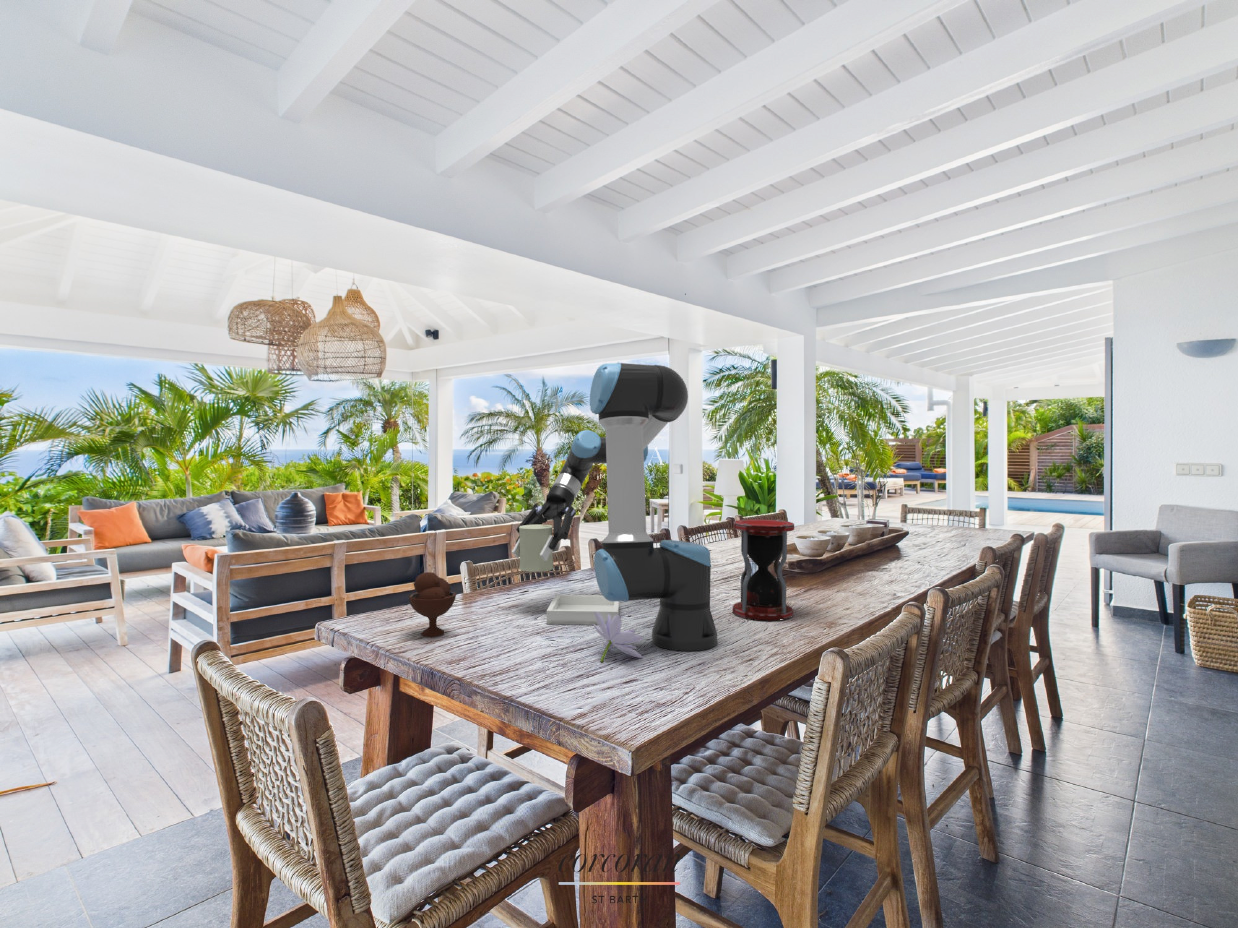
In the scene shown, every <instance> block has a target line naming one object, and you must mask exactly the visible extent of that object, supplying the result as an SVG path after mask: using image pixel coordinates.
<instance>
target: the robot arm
mask: <svg viewBox="0 0 1238 928" xmlns="http://www.w3.org/2000/svg"><path fill="white" fill-rule="evenodd" d="M688 400H689V394H688V388H687V384H686V383H685V381H684V379H683V377H681V375H680V374H679V373H678V372H677V371H675V370H674V369H672V368H671V367H668V366H665V365H661V364H660V365H657V364H654V365H653V364H639V363H638V364H637V363H623V362H617V363H603V364H601V365H599V367H598V368H597V369H596V371H595V373H594V375H593V378H592V381H591V387H590V393H589V407H590V408H589V409H590V412H591V413H592V414H594V415H597V416H598V424H599V425H600V426H601V427H602V428H603V429H604V430H605V437H603V436H602V437H601V436H599V434H598V433H597V432H595V431H592V430H588V429H585V430H581V431H579V432H578V433H577V434H576V435H575V437H574V438H573V441H572V443H571V446H570V450H569V453H568V455H567V457H566V460H565V463H564V465H563V466H562V468H561V470H560V472H559V474H558V475H557V477H556V479H555V481H554V483H553V484H552V486H551V487H550V490H549V491H548V493H547V495H546V499H545V502H544V503H543V504H542V505H538V504H537V503H535V504H534V505H533V506H532V507H531V510H530V512H528V514H527V515H526V516H525V517H524V519H523V520H522V521H521V522H520V524H519V525H518V526H517V527H516V529H515V530H516V532H517V533H518V535H519V527H520V526H523V525H543V524H545V523H546V522H548V521H553V525H552V526H553V529H552V535H550V536H549V538H548V540H547V542H546V544H545V546H544V548H543V549H542V551H541V553H540V556H541V557H542V559H543V560H544V561H547V559H548V557H549V555H550V553H551V551H552V552H553V551H554V550H555V549H556V548H557V545H558V544H559V542H560V541H561V540H564V541H566V540H567V539H568V536H569V534H570V531H571V525H572V524H573V520H574V517H575V516H576V514H577V512H576V510H575V508H574V507H573V506H572V505H573V504H574V501H575V499H576V498H577V496H578V494H579V492H580V490H581V488H582V486H583V484H584V482H585V480H586V479H587V477H588V475H589V473H590V471H591V470H592V468H593V465H594V464H606V484H607V485H606V486H607V487H606V489H607V493H606V494H607V517H608V519H607V522H608V534H607V535H606V536H605V537H604V539H602V542H601V543H602V545H601V546H602V548H600V549H598V550H597V551H595V553H594V561H593V562H594V563H593V567H594V574H595V579H596V583H597V586H598V588H599V591H600V593H601V595H603V596H604V598H606V599H607V600H609V601H620V602H624V603H627V602H629V601H630V602H631V601H646V600H647V601H648V600H659V609H658V612H657V615H656V618H655V621H654V625H653V627H652V630H651V641H652V643H653V644H654V645H656V646H658V647H660V648H663V649H666V650H673V651H674V650H675V651H684V652H685V651H687V652H692V651H694V652H695V651H702V650H703V651H704V650H708V649H711V648H714V647H715V646H717V644H718V631H717V628H716V625H715V621H714V618H713V614H712V611H711V574H712V573H711V570H712V569H711V568H712V563H711V562H712V561H711V552H710V549H709V548H708V547H707V546H705V545H703V544H699V543H695V542H688V541H683V540H682V541H681V540H673V539H663V540H661V541H660V543H659V546H658V547H655V545H654V539H653V538H652V537H651V536H650V534H648V532H647V518H646V517H647V516H646V515H647V514H646V509H647V508H646V485H645V481H646V480H645V462H646V461H647V457H648V455H649V444H650V443H652V441H653V440H654V439H655V438H656V437H657V436H658V435H659V433H660V432H661V431H662V430H663V429H664V428H665V427H666V426H667V425H668V423H673V422H675V421H676V420H678V418H679V417H680V416H681V415H682V414H683V413H684V411H685V409H686V407H687V406H688ZM563 517H564V518H563ZM511 554H513V555H514V557H515V559H520V535H519V536H518V537H517V539H516V540H515V545H514V546H513V548H512V550H511Z"/></svg>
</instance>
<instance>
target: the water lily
mask: <svg viewBox="0 0 1238 928" xmlns="http://www.w3.org/2000/svg"><path fill="white" fill-rule="evenodd" d="M594 612H595V611H594ZM595 616H596V620H597V622H598V625H594V624H593V625H592V626H593V628H594V629H595V630H596V632H597V633H598V634H599V635H600V636H601V637H602V638H603V639H604V640H606V641H604V642H603V648H604V651H603V653H602V655H601V658H600V662H601V663H604V661H605V658H606V656H607V653H608V651H611V650H612V649H614V647H615V648H617V649H618V650H619V651H621V652H623V653H624V654H626V655H629V656H631V657H635V658H638V659H643V656H642V655H641V654H640V653H639V652H638V651H636V650H637V649H638V647H637V646H634V645H630V644H634V643H638V642H640V641H642V640H643V639H644V637H643V636H642V635H638V634H636V633H635V632H636V631H635V629H627V630H624V631H621V628H622V619H621V616H620V614H619V615H616V616H615V617H614V618H613V619H611V617H610V615H609V614H608V617H607V623H606V625H605V622H604V620H603V618H602V616H601V615H600V613H599V612H598V613H597V612H595ZM634 649H635V650H634Z"/></svg>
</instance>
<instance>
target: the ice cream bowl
mask: <svg viewBox="0 0 1238 928" xmlns="http://www.w3.org/2000/svg"><path fill="white" fill-rule="evenodd" d="M413 587H414V588H413V589H414V590H415V591H416V592H412V593H411V594H410V595H409V596H408V600H409V604H410V606H411V608H412V609H413V610H414V611H415V612H416V613H418V615H421V616H423V617H425V618H427V619H428V625H429V626H428V627H426V628H425V629H424V630H422V631H421V633H420V636H421V637H424V638H437V637H441V636H444V634H445V633H446V631H445V630H444V629H442V628H440V627H438V626H437V625H438V624H437V623H438V622H437V620H438V617H441V616H443V615H445V614H446V613H447V612H448V611H449V610H450V609H451V608H452V607H453V605H454V602H455V601H456V597H457V592H455V591H452V590H451V583H449V582H448V581H447V580H445V578H443V577H440V576H438V575H437V574H436V573H435V572H430V571H426V572H422V573H421V574H419V575H417V577H416V578H415V581H413Z"/></svg>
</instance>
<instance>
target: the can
mask: <svg viewBox="0 0 1238 928" xmlns="http://www.w3.org/2000/svg"><path fill="white" fill-rule="evenodd" d="M552 533H553V525H550V524H541V525H523V526H520V527H519V533H518V535H520V556H519V571H522V572H529V573H530V572H531V573H537V572H546V571H551V570H553V569H554V559H553V550H552V551H551V553H550V555H549V557H548V559H547V561H544V560H543V559H542V557H541V556H540V553H541V551H542V549H543V548H544V546H545V544H546V542H547V540H548V538H549V536H550V535H552V536H553V534H552Z"/></svg>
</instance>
